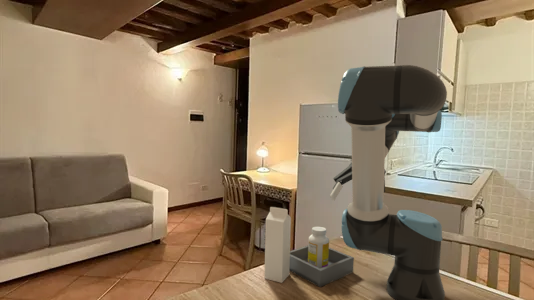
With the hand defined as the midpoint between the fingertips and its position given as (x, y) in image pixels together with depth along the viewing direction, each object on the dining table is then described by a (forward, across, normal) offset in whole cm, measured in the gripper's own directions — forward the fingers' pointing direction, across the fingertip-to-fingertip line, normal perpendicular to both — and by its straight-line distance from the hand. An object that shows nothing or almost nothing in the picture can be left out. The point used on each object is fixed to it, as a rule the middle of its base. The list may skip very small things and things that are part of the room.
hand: (347, 202), depth 113 cm
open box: (+24, +1, -6) cm, 25 cm away
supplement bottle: (+23, +2, -6) cm, 24 cm away
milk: (+34, +6, +4) cm, 35 cm away
